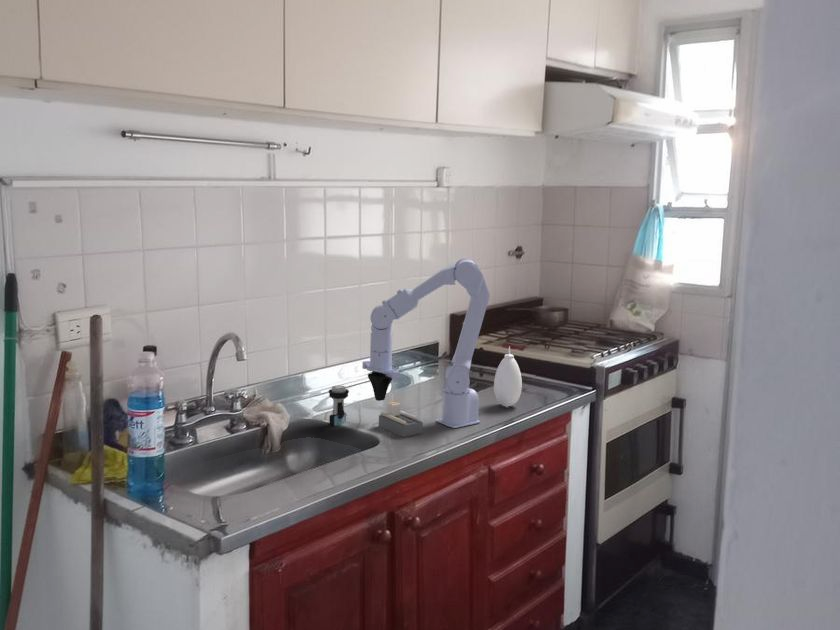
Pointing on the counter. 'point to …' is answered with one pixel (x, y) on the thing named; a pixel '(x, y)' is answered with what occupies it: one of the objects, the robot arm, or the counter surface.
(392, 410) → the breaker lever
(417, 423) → the grey shallow tray
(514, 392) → the air blower bulb
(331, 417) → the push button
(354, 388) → the counter surface
